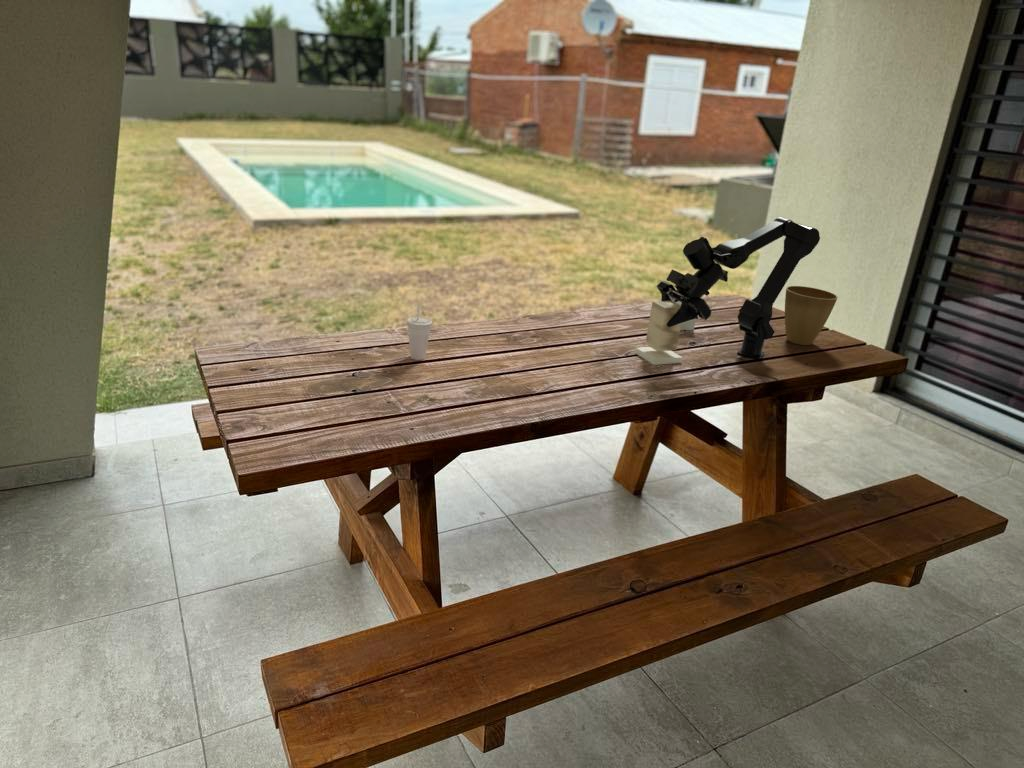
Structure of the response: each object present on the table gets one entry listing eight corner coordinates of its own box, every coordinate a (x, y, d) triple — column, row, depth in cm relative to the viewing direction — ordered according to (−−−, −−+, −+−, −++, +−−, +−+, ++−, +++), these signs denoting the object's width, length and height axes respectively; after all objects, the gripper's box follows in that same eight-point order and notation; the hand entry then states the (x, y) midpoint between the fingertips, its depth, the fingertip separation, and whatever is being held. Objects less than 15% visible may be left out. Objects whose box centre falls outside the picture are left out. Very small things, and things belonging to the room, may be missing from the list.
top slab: (662, 351, 207) (663, 346, 207) (681, 362, 200) (682, 357, 199) (635, 352, 204) (636, 347, 203) (653, 364, 196) (654, 359, 195)
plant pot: (829, 352, 223) (843, 301, 217) (779, 345, 225) (791, 294, 219) (818, 337, 237) (831, 289, 231) (771, 331, 239) (782, 282, 232)
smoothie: (415, 350, 191) (418, 298, 186) (435, 357, 189) (438, 304, 183) (399, 357, 186) (401, 303, 181) (420, 363, 183) (422, 309, 178)
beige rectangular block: (663, 342, 204) (671, 300, 200) (676, 350, 199) (684, 307, 195) (645, 343, 202) (652, 301, 197) (657, 351, 197) (665, 308, 192)
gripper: (668, 251, 201) (627, 292, 201) (710, 269, 185) (666, 313, 185) (686, 279, 207) (647, 318, 207) (729, 298, 191) (686, 341, 191)
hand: (660, 322), depth 197 cm, fingers closed on beige rectangular block, 6 cm apart
